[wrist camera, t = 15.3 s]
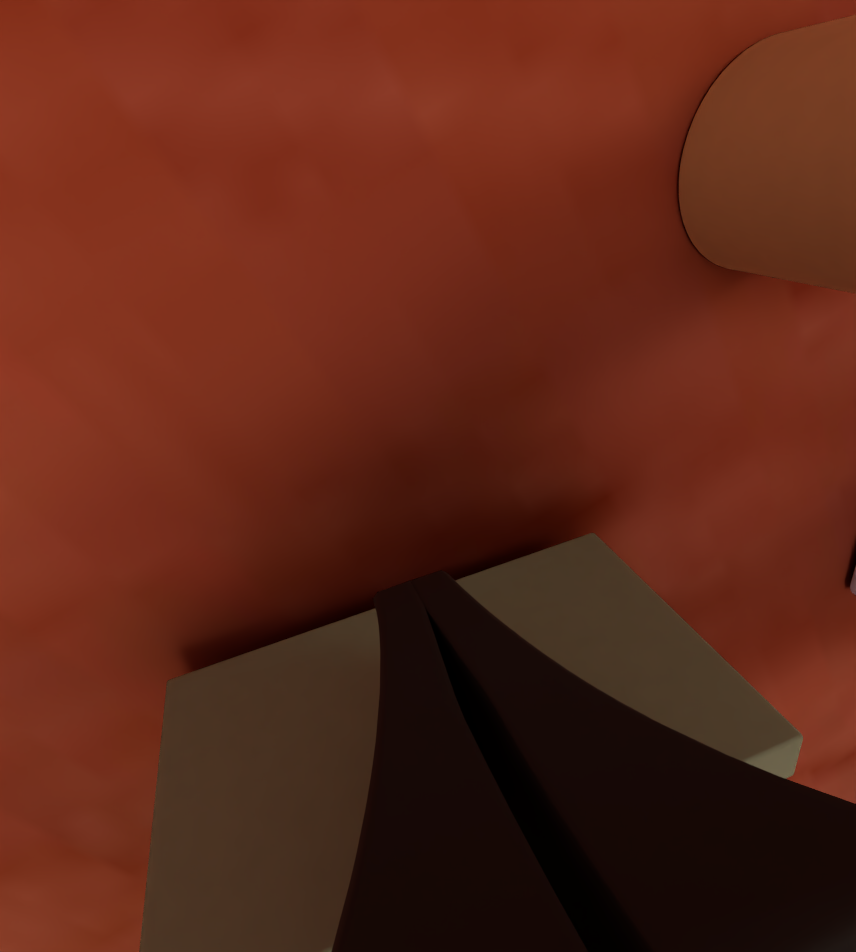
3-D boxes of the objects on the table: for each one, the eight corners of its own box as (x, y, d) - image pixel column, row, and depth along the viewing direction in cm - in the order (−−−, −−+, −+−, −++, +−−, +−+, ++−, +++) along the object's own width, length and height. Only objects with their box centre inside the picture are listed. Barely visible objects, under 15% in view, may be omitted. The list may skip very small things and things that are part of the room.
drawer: (145, 643, 13) (87, 1010, 7) (592, 493, 15) (817, 689, 9) (307, 922, 20) (342, 1224, 14) (599, 793, 22) (733, 1011, 16)
